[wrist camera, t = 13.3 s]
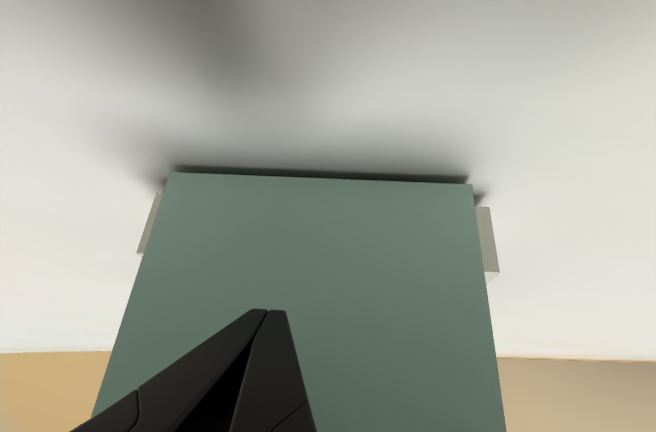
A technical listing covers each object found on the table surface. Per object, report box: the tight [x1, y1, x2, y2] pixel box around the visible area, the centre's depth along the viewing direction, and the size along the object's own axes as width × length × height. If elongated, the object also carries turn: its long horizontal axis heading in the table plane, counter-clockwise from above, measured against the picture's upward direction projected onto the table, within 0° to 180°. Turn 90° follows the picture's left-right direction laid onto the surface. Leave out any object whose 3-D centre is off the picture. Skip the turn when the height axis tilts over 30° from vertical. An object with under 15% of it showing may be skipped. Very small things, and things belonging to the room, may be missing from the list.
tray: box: [91, 172, 506, 432], centre depth 17 cm, size 13×13×8 cm
